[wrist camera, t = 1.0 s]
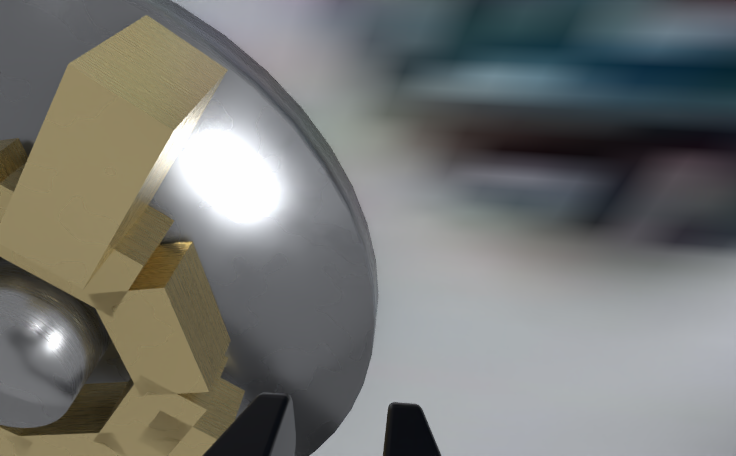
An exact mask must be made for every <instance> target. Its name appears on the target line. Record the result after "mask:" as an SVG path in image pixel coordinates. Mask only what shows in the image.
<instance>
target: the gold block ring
mask: <svg viewBox="0 0 736 456" xmlns="http://www.w3.org/2000/svg"><path fill="white" fill-rule="evenodd" d="M227 71H228V69H226V68H225V67H223V66H222V65H220V64H219V63H217V62H216V61H214V60H213V59H211V58H210V57H208V56H207V55H205V54H204V53H202V52H201V51H199V50H198V49H196V48H195V47H194V46H192V45H191V44H189V43H188V42H186V41H185V40H183V39H182V38H180V37H179V36H177V35H176V34H174V33H173V32H171V31H170V30H168V29H167V28H165V27H164V26H163V25H161V24H160V23H158V22H157V21H155V20H154V19H152V18H151V17H149V16H148V15H146V16H144V17H142V18H141V19H139V20H138V21H136V22H134V23H133V24H131V25H130V26H128V27H126V28H125V29H123V30H122V31H120V32H118V33H117V34H115V35H114V36H112V37H110V38H109V39H107V40H106V41H104V42H102V43H101V44H99V45H98V46H96V47H94V48H93V49H91V50H90V51H88V52H86V53H85V54H83V55H82V56H80V57H78V58H77V59H75V60H74V61H72V62H70V63H69V64H68V66H67V68H66V70H65V73H64V75H63V77H62V80H61V82H60V84H59V87H58V89H57V91H56V94H55V96H54V98H53V101H52V103H51V105H50V108H49V110H48V113H47V115H46V117H45V120H44V122H43V124H42V127H41V129H40V131H39V134H38V136H37V138H36V141H35V143H34V145H33V148H32V150H31V152H30V155H29V157H28V155H27V153H26V151H25V149H24V148H23V146H22V144H21V142H20V140H19V138H14V139H7V140H0V257H2V258H4V259H6V260H7V261H9V262H11V263H13V264H15V265H17V266H18V267H20V268H22V269H24V270H26V271H28V272H30V273H31V274H33V275H35V276H37V277H39V278H41V279H42V280H44V281H46V282H48V283H50V284H52V285H54V286H55V287H57V288H59V289H61V290H63V291H65V292H66V293H68V294H70V295H72V296H74V297H76V298H78V299H79V300H81V301H83V302H85V303H87V304H89V305H91V306H92V307H94V308H96V310H97V312H98V314H99V316H100V318H101V320H102V322H103V324H104V326H105V328H106V330H107V332H108V334H109V336H110V338H111V340H112V342H113V343H114V345H115V347H116V349H117V351H118V353H119V355H120V357H121V359H122V361H123V363H124V365H125V367H126V369H127V371H128V373H129V375H130V377H131V379H130V380H129V381H128V382H112V383H93V384H84V386H83V387H82V389H81V390H80V392H79V393H78V395H77V396H76V398H75V400H74V401H73V403H72V404H71V406H70V407H69V409H68V410H67V412H66V413H65V414H64V415H63V416H62V417H61V418H59V419H58V420H57V421H55V422H53V423H51V424H48V425H44V426H40V427H33V428H16V427H9V426H3V425H0V456H202V455H203V454H204V453H205V452H206V451H207V450H208V449H209V448H210V447H211V446H212V445H213V443H214V442H215V441H216V440H217V439H218V438H219V437H220V436H221V435H222V434H223V433H224V431H225V430H226V429H227V428H228V427H229V426H230V425H231V424H232V423H233V422H234V421H235V418H236V415H237V413H238V410H239V407H240V404H241V401H242V398H243V396H244V393H245V391H244V390H242V389H241V388H239V387H237V386H235V385H233V384H231V383H230V382H228V381H226V380H224V379H222V378H220V377H221V375H222V372H223V370H224V367H225V365H226V362H227V360H228V357H226V356H224V355H225V353H226V351H227V348H228V346H229V343H230V341H231V340H230V337H229V335H228V332H227V329H226V327H225V324H224V322H223V319H222V316H221V314H220V311H219V309H218V306H217V303H216V301H215V298H214V295H213V293H212V290H211V288H210V285H209V282H208V280H207V277H206V275H205V272H204V269H203V267H202V264H201V262H200V259H199V256H198V254H197V251H196V248H195V246H194V243H193V241H188V242H178V243H168V244H160V243H161V241H162V240H163V238H164V237H165V235H166V234H167V232H168V230H169V229H170V227H171V226H172V224H173V222H174V220H173V219H171V218H169V217H168V216H166V215H164V214H163V213H161V212H159V211H157V210H156V209H154V208H152V207H151V206H149V203H150V202H151V200H152V198H153V197H154V195H155V193H156V192H157V190H158V188H159V186H160V185H161V183H162V181H163V180H164V178H165V176H166V175H167V173H168V171H169V169H170V168H171V166H172V164H173V163H174V161H175V159H176V157H177V156H178V154H179V152H180V151H181V149H182V147H183V146H184V144H185V142H186V140H187V139H188V137H189V135H190V134H191V132H192V130H193V129H194V127H195V125H196V123H197V122H198V120H199V118H200V117H201V115H202V113H203V112H204V110H205V108H206V106H207V105H208V103H209V101H210V100H211V98H212V96H213V95H214V93H215V91H216V89H217V88H218V86H219V84H220V83H221V81H222V79H223V78H224V76H225V74H226V72H227Z"/></svg>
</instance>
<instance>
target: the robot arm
mask: <svg viewBox="0 0 736 456" xmlns="http://www.w3.org/2000/svg"><path fill="white" fill-rule="evenodd" d="M295 445H296V432H295V421H294V411H293V401H292V398H291V396H290V395H288V394H282V393H269V392H264V393H261V394H259V395H258V396H257V397H256V398H255V399H254V400H253V401H252V402H251V403H250V404H249V405H248V406H247V408H246V409H245V410H244V411H243V412H242V413H241V414H240V415H239V416H238V417H237V418H236V420H235V421H234V422H233V423H232V424H231V425H230V426H229V427H228V428H227V429H226V430H225V431H224V433H223V434H222V435H221V436H220V437H219V438H218V439H217V440H216V441H215V442H214V443H213V445H212V446H211V447H210V448H209V449H208V450H207V451H206V452H205V453H204V454H203V455H202V456H294V454H295ZM383 456H441V454H440V451H439V449H438V446H437V444H436V442H435V439H434V437H433V434H432V432H431V429H430V427H429V425H428V422H427V420H426V417H425V415H424V412H423V410H422V408H421V407H420V406H419V405H417V404H410V403H397V402H393V403H391V404H390V405H389V407H388V414H387V423H386V433H385V442H384V451H383Z"/></svg>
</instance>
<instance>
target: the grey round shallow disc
mask: <svg viewBox="0 0 736 456" xmlns="http://www.w3.org/2000/svg"><path fill="white" fill-rule="evenodd" d="M146 15H148V16H149V17H151V18H152V19H154V20H155V21H157V22H158V23H160V24H161V25H163V26H164V27H165V28H167V29H168V30H170V31H171V32H173V33H174V34H176V35H177V36H179V37H180V38H182V39H183V40H185V41H186V42H188V43H189V44H191V45H192V46H194V47H195V48H196V49H198V50H199V51H201V52H202V53H204V54H205V55H207V56H208V57H210V58H211V59H213V60H214V61H216V62H217V63H219V64H220V65H222V66H223V67H225V68H226V69H228V71H227V72H226V74H225V76H224V78H223V79H222V81H221V83H220V84H219V86H218V88H217V89H216V91H215V93H214V95H213V96H212V98H211V100H210V101H209V103H208V105H207V106H206V108H205V110H204V112H203V113H202V115H201V117H200V118H199V120H198V122H197V123H196V125H195V127H194V129H193V130H192V132H191V134H190V135H189V137H188V139H187V140H186V142H185V144H184V146H183V147H182V149H181V151H180V152H179V154H178V156H177V157H176V159H175V161H174V163H173V164H172V166H171V168H170V169H169V171H168V173H167V175H166V176H165V178H164V180H163V181H162V183H161V185H160V186H159V188H158V190H157V192H156V193H155V195H154V197H153V198H152V200H151V202H150V203H149V206H151V207H152V208H154V209H156V210H157V211H159V212H161V213H163V214H164V215H166V216H168V217H169V218H171V219H173V220H174V222H173V224H172V226H171V227H170V229H169V230H168V232H167V234H166V235H165V237H164V238H163V240H162V241H161V243H160V244H168V243H178V242H188V241H193V243H194V246H195V248H196V251H197V254H198V256H199V259H200V262H201V264H202V267H203V269H204V272H205V275H206V277H207V280H208V282H209V285H210V288H211V290H212V293H213V295H214V298H215V301H216V303H217V306H218V309H219V311H220V314H221V316H222V319H223V322H224V324H225V327H226V329H227V332H228V335H229V337H230V340H231V341H230V343H229V346H228V348H227V351H226V353H225V355H224V356H226V357H228V360H227V362H226V365H225V367H224V370H223V372H222V375H221V377H220V378H222V379H224V380H226V381H228V382H230V383H231V384H233V385H235V386H237V387H239V388H241V389H242V390H244V391H245V393H244V396H243V398H242V401H241V404H240V407H239V410H238V413H237V415H236V418H237V417H238V416H239V415H240V414H241V413H242V412H243V411H244V410H245V409H246V408H247V406H248V405H249V404H250V403H251V402H252V401H253V400H254V399H255V398H256V397H257V396H258V395H259V394H261V393H264V392H269V393H282V394H288V395H290V396H291V398H292V401H293V411H294V421H295V432H296V445H295V454H294V456H309V455H310V454H312V453H313V452H315V451H316V450H317V449H318V448H319V447H320V446H321V445H322V444H323V443H324V442H325V441H326V440H327V439H328V438H329V437H330V436H331V435H332V434H333V433H334V432H335V431H336V430H337V428H338V427H339V425H340V424H341V423H342V421H343V420H344V419H345V417H346V416H347V415H348V413H349V412H350V410H351V409H352V407H353V405H354V402H355V400H356V398H357V396H358V394H359V392H360V390H361V388H362V386H363V384H364V380H365V377H366V373H367V369H368V366H369V362H370V359H371V355H372V348H373V341H374V333H375V326H376V315H377V304H378V283H377V269H376V259H375V255H374V251H373V246H372V242H371V238H370V233H369V229H368V225H367V222H366V220H365V217H364V214H363V212H362V209H361V207H360V204H359V202H358V199H357V197H356V194H355V191H354V189H353V186H352V185H351V183H350V181H349V179H348V177H347V176H346V174H345V172H344V170H343V168H342V167H341V165H340V163H339V161H338V159H337V158H336V156H335V154H334V152H333V151H332V149H331V147H330V146H329V144H328V143H327V142H326V140H325V139H324V138H323V136H322V135H321V133H320V132H319V131H318V129H317V128H316V127H315V125H314V124H313V123H312V121H311V120H310V119H309V117H308V116H307V114H306V113H305V112H304V110H303V109H302V108H301V107H300V106H299V105H298V104H297V103H296V101H295V100H294V99H293V98H292V97H291V96H290V95H289V94H288V93H287V92H286V91H285V90H284V89H283V88H282V87H281V86H280V84H279V83H278V82H277V81H276V80H275V79H274V78H273V77H272V76H271V75H270V74H269V73H268V72H267V71H266V70H265V69H264V68H263V67H262V66H260V65H259V64H258V63H257V62H256V61H254V60H253V59H252V58H251V57H250V56H248V55H247V54H246V53H245V52H244V51H243V50H241V49H240V48H239V47H238V46H237V45H235V44H234V43H233V42H232V41H231V40H229V39H228V38H227V37H226V36H225V35H223V34H222V33H220V32H219V31H217V30H216V29H214V28H213V27H211V26H210V25H208V24H207V23H205V22H204V21H202V20H201V19H199V18H198V17H196V16H195V15H193V14H192V13H190V12H188V11H187V10H185V9H184V8H182V7H181V6H179V5H178V4H176V3H174V2H172V1H170V0H0V140H7V139H14V138H19V140H20V142H21V144H22V146H23V148H24V149H25V151H26V153H27V155H28V157H29V155H30V152H31V150H32V148H33V145H34V143H35V141H36V138H37V136H38V134H39V131H40V129H41V127H42V124H43V122H44V120H45V117H46V115H47V113H48V110H49V108H50V105H51V103H52V101H53V98H54V96H55V94H56V91H57V89H58V87H59V84H60V82H61V80H62V77H63V75H64V73H65V70H66V68H67V66H68V64H69V63H70V62H72V61H74V60H75V59H77V58H78V57H80V56H82V55H83V54H85V53H86V52H88V51H90V50H91V49H93V48H94V47H96V46H98V45H99V44H101V43H102V42H104V41H106V40H107V39H109V38H110V37H112V36H114V35H115V34H117V33H118V32H120V31H122V30H123V29H125V28H126V27H128V26H130V25H131V24H133V23H134V22H136V21H138V20H139V19H141V18H142V17H144V16H146ZM130 379H131V377H130V375H129V373H128V371H127V369H126V367H125V365H124V363H123V361H122V359H121V357H120V355H119V353H118V351H117V349H116V347H115V345H114V343H113V342H112V340H111V338H110V336H109V334H108V332H107V330H106V328H105V326H104V324H103V322H102V320H101V318H100V316H99V314H98V312H97V310H96V308H94V307H92V306H91V305H89V304H87V303H85V302H83V301H81V300H79V299H78V298H76V297H74V296H72V295H70V294H68V293H66V292H65V291H63V290H61V289H59V288H57V287H55V286H54V285H52V284H50V283H48V282H46V281H44V280H42V279H41V278H39V277H37V276H35V275H33V274H31V273H30V272H28V271H26V270H24V269H22V268H20V267H18V266H17V265H15V264H13V263H11V262H9V261H7V260H6V259H4V258H2V257H0V425H3V426H9V427H16V428H33V427H40V426H44V425H48V424H51V423H53V422H55V421H57V420H58V419H59V418H61V417H62V416H63V415H64V414H65V413H66V412H67V410H68V409H69V407H70V406H71V404H72V403H73V401H74V400H75V398H76V396H77V395H78V393H79V392H80V390H81V389H82V387H83V386H84V384H93V383H112V382H128V381H129V380H130ZM236 418H235V420H236Z"/></svg>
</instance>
